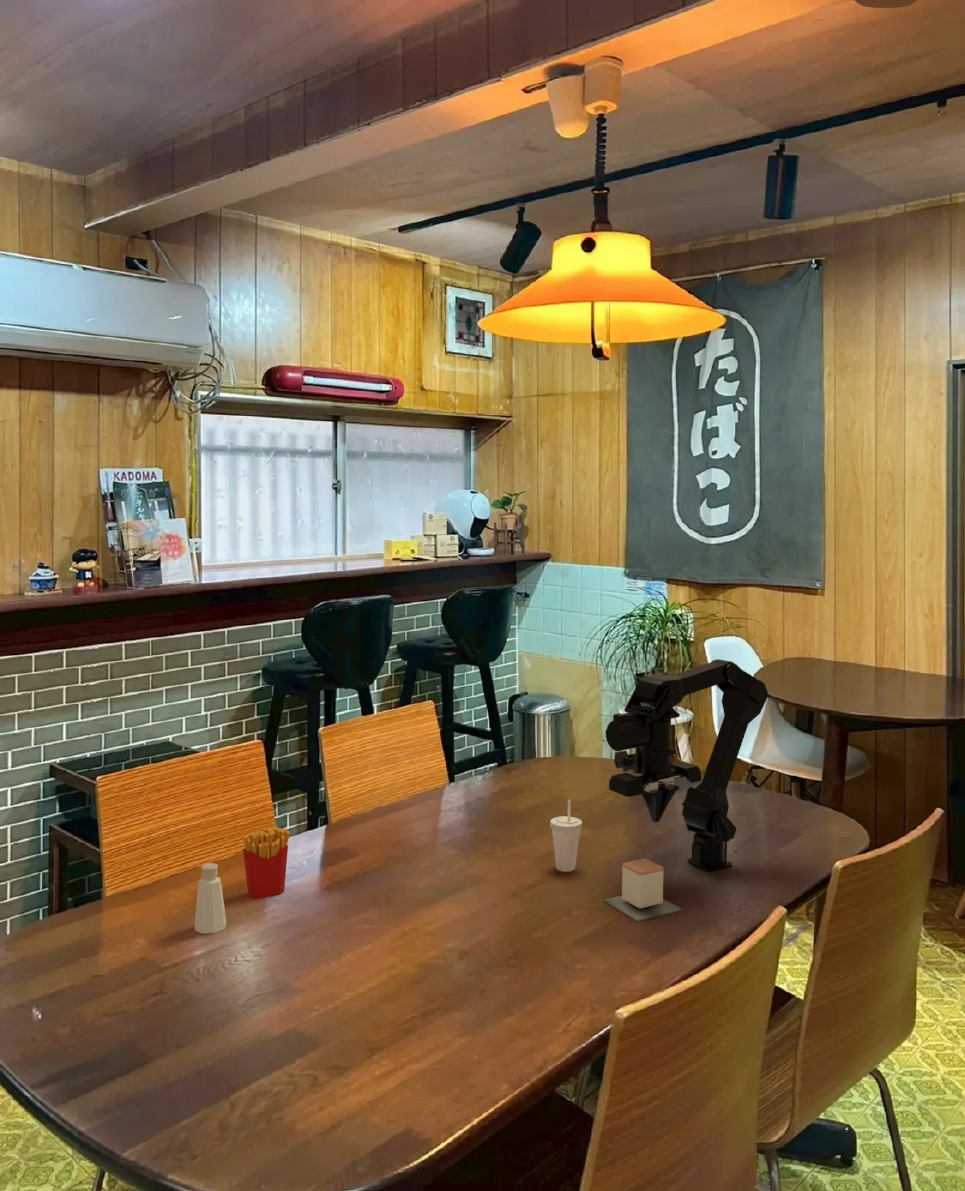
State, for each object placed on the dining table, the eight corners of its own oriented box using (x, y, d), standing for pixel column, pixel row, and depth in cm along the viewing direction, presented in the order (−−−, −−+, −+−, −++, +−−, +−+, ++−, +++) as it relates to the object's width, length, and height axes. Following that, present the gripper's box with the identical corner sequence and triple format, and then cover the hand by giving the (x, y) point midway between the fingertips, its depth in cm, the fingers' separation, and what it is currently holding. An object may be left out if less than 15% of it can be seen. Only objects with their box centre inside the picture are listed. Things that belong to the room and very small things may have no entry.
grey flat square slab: (646, 891, 186) (647, 855, 186) (681, 910, 178) (682, 872, 177) (603, 901, 181) (604, 864, 181) (637, 921, 173) (638, 882, 172)
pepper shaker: (197, 936, 166) (196, 873, 165) (191, 924, 171) (189, 862, 170) (230, 930, 168) (229, 867, 167) (222, 918, 173) (221, 857, 172)
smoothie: (579, 875, 194) (580, 805, 193) (547, 872, 195) (548, 803, 194) (583, 863, 200) (584, 796, 199) (551, 861, 201) (552, 794, 200)
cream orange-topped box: (644, 892, 183) (645, 858, 182) (662, 902, 178) (663, 867, 178) (621, 898, 180) (622, 863, 180) (639, 908, 176) (640, 872, 175)
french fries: (247, 900, 181) (246, 837, 180) (242, 893, 184) (240, 830, 183) (292, 892, 185) (291, 830, 184) (286, 885, 188) (285, 823, 187)
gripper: (664, 727, 201) (664, 801, 202) (591, 740, 191) (591, 818, 193) (703, 738, 191) (702, 817, 193) (627, 753, 182) (627, 835, 183)
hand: (655, 821), depth 191 cm, fingers closed
